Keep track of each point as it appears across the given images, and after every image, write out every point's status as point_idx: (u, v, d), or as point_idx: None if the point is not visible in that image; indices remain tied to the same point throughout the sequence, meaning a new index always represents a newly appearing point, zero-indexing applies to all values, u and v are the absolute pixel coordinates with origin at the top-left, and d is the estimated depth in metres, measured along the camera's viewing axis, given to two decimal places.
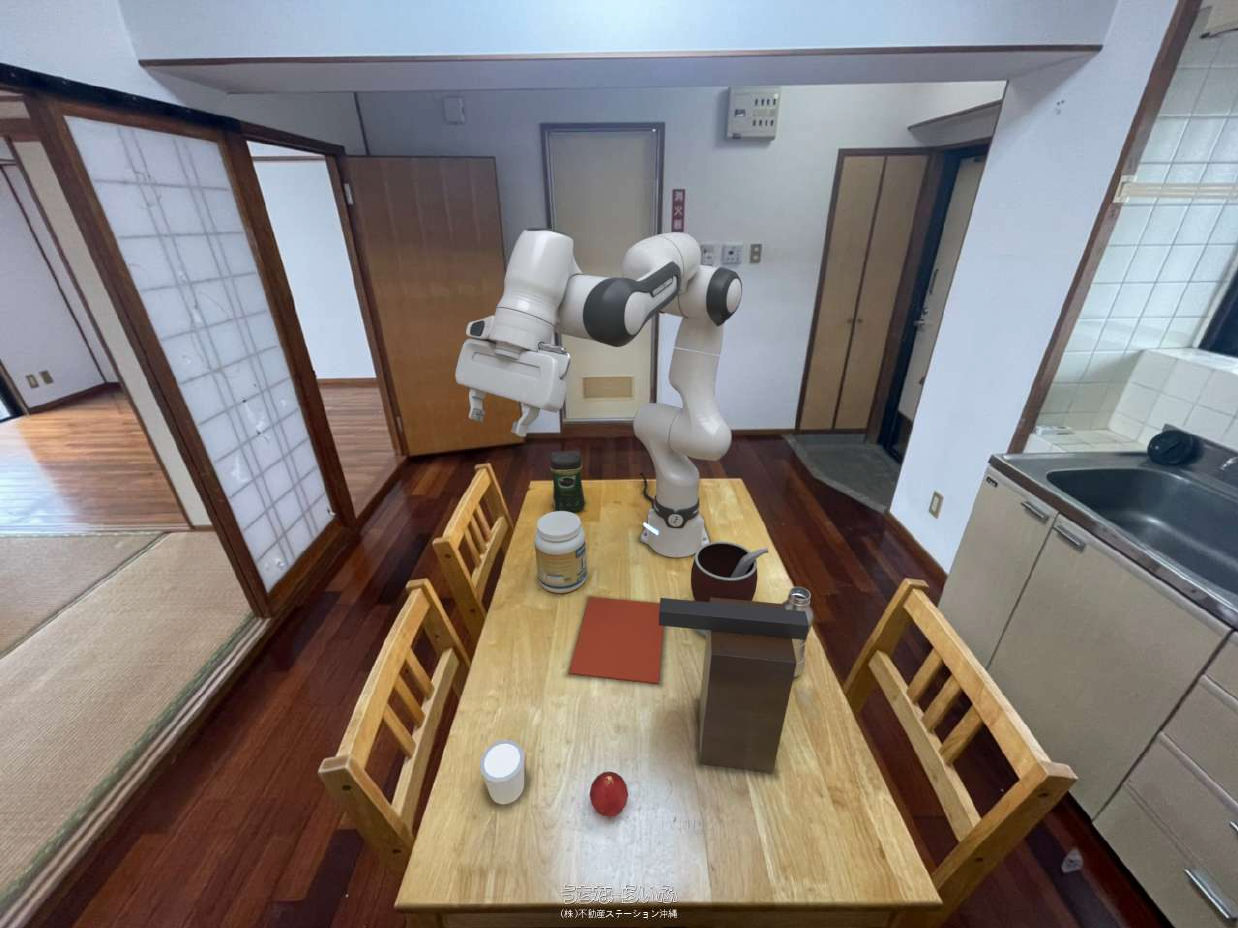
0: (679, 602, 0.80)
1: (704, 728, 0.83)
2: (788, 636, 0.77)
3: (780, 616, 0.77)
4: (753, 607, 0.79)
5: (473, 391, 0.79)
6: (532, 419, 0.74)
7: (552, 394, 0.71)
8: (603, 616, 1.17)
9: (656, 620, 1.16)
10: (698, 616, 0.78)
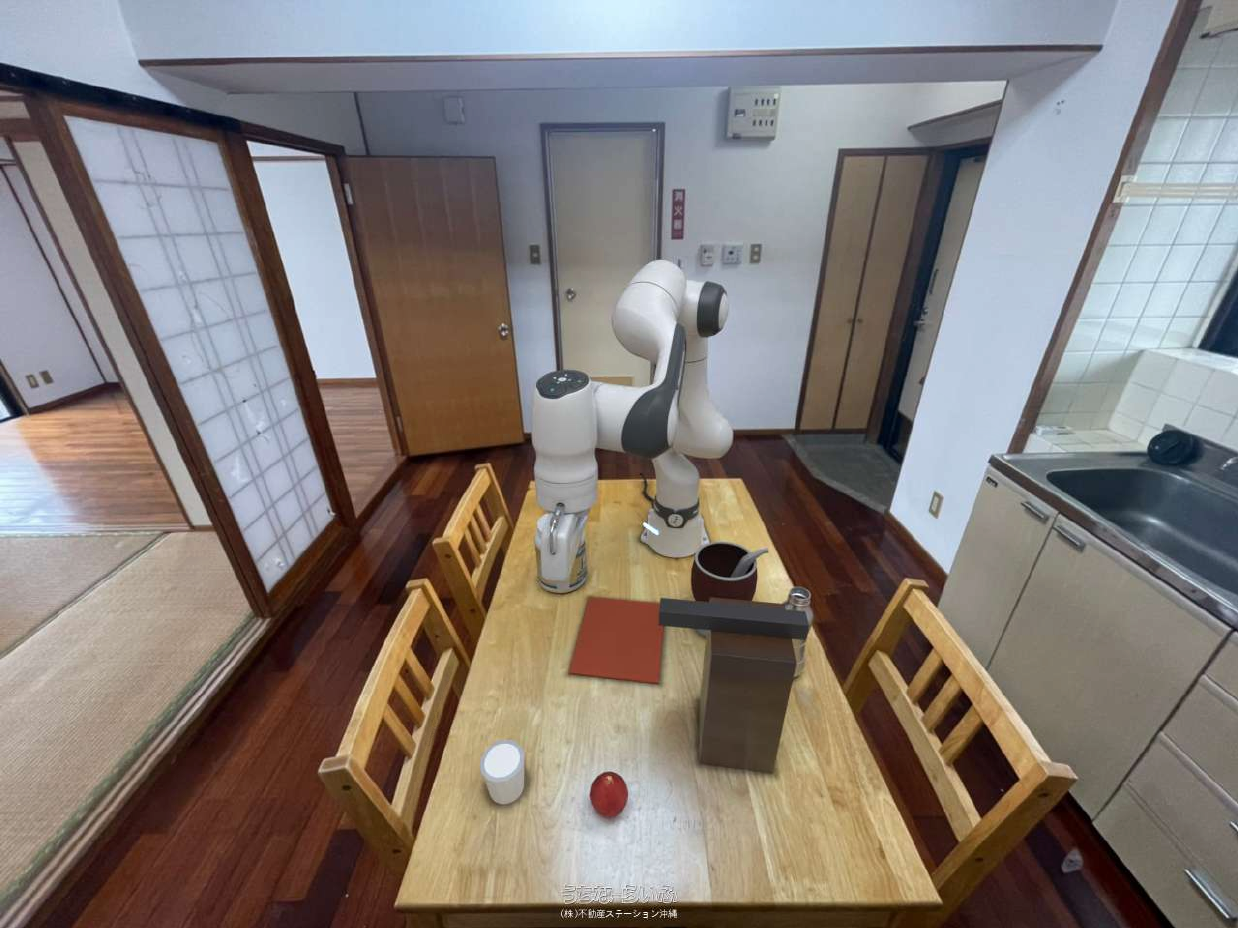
0: (679, 602, 0.80)
1: (704, 728, 0.83)
2: (788, 636, 0.77)
3: (780, 616, 0.77)
4: (753, 607, 0.79)
5: None
6: None
7: (544, 569, 0.67)
8: (603, 616, 1.17)
9: (656, 620, 1.16)
10: (698, 616, 0.78)
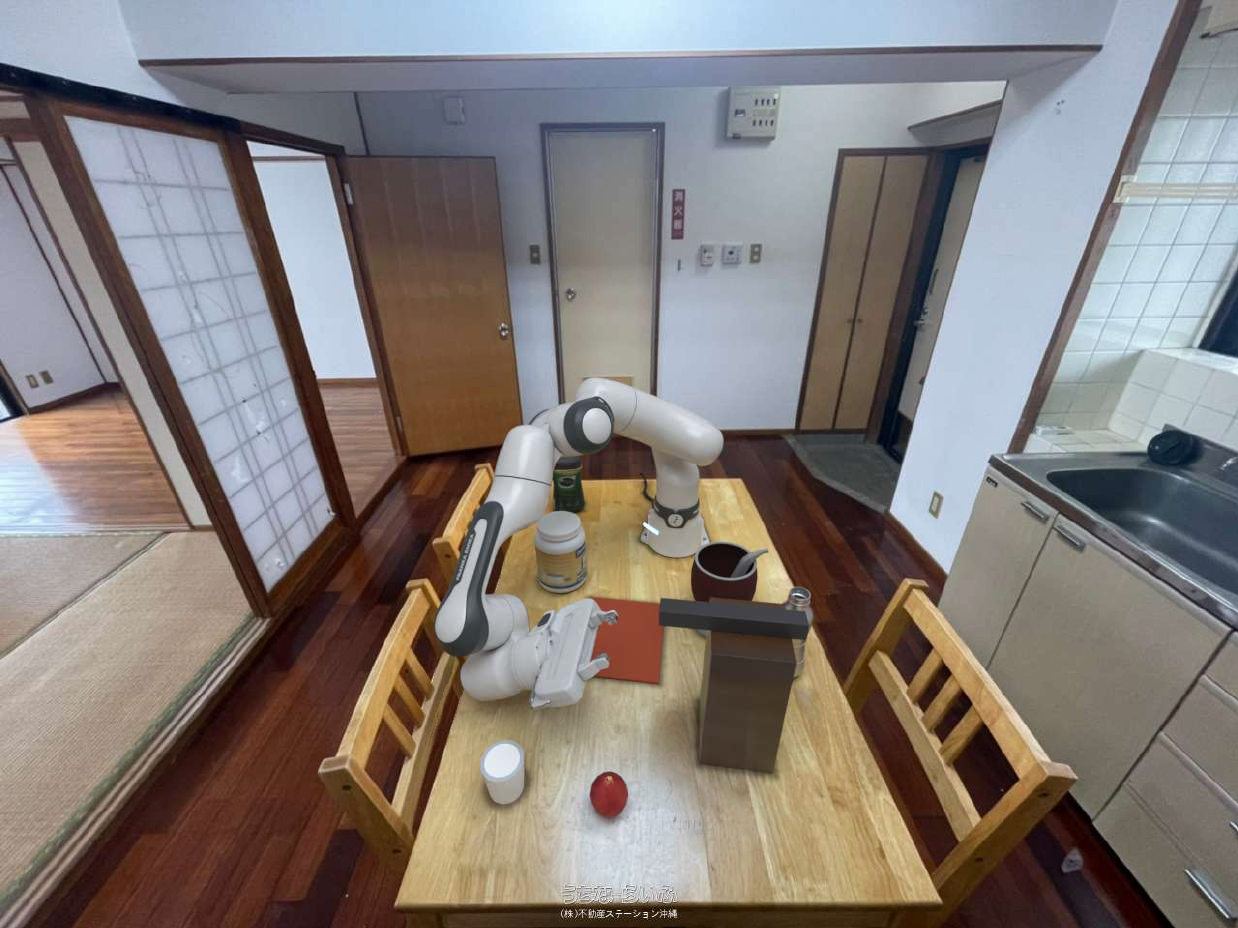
0: (679, 602, 0.80)
1: (704, 728, 0.83)
2: (788, 636, 0.77)
3: (780, 616, 0.77)
4: (753, 607, 0.79)
5: None
6: (589, 668, 0.80)
7: (567, 703, 0.78)
8: None
9: (656, 620, 1.16)
10: (698, 616, 0.78)
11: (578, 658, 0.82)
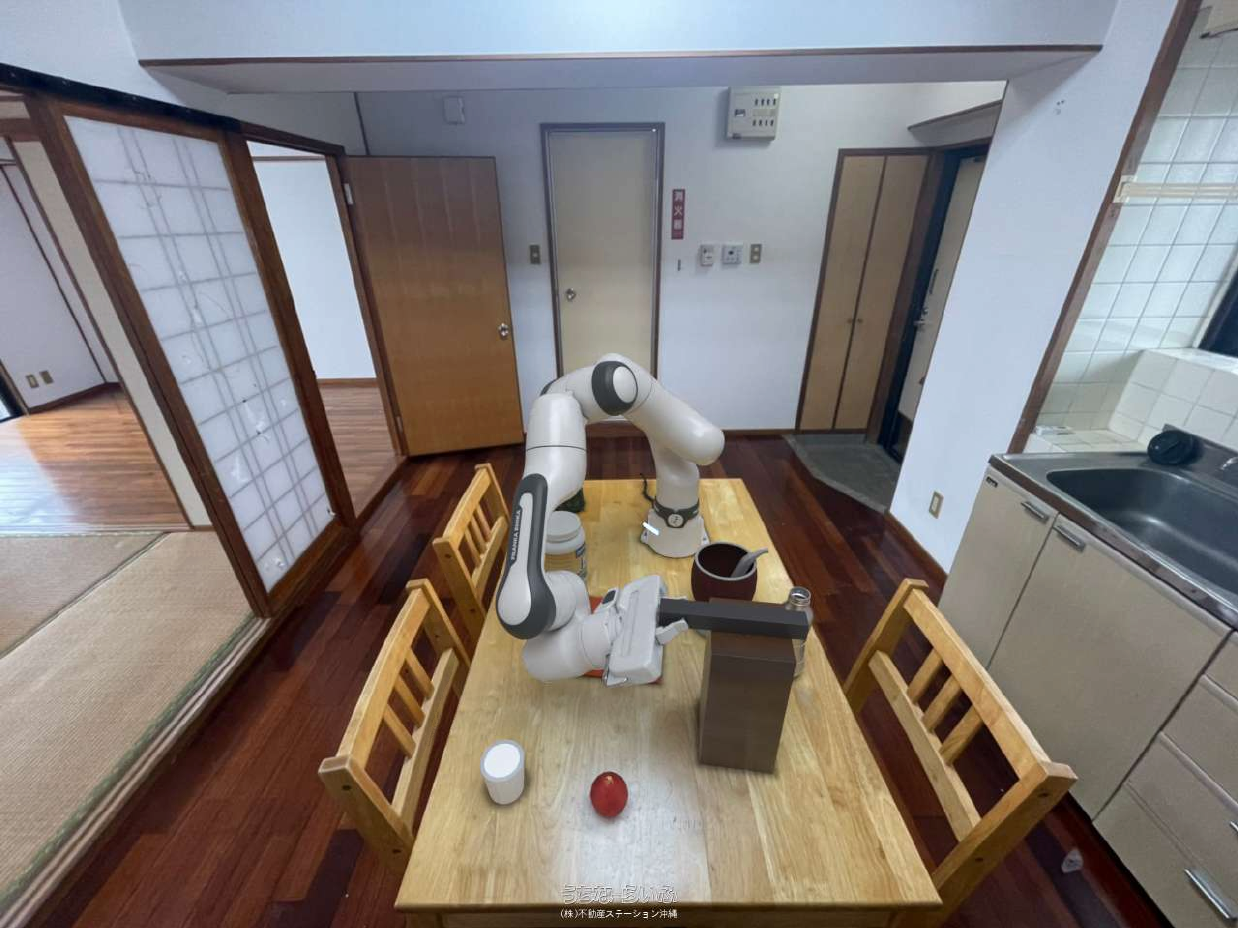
0: (680, 602, 0.80)
1: (704, 728, 0.83)
2: (788, 636, 0.77)
3: (780, 616, 0.77)
4: (753, 607, 0.79)
5: None
6: (668, 631, 0.77)
7: (645, 681, 0.74)
8: None
9: None
10: (698, 616, 0.78)
11: (653, 634, 0.77)
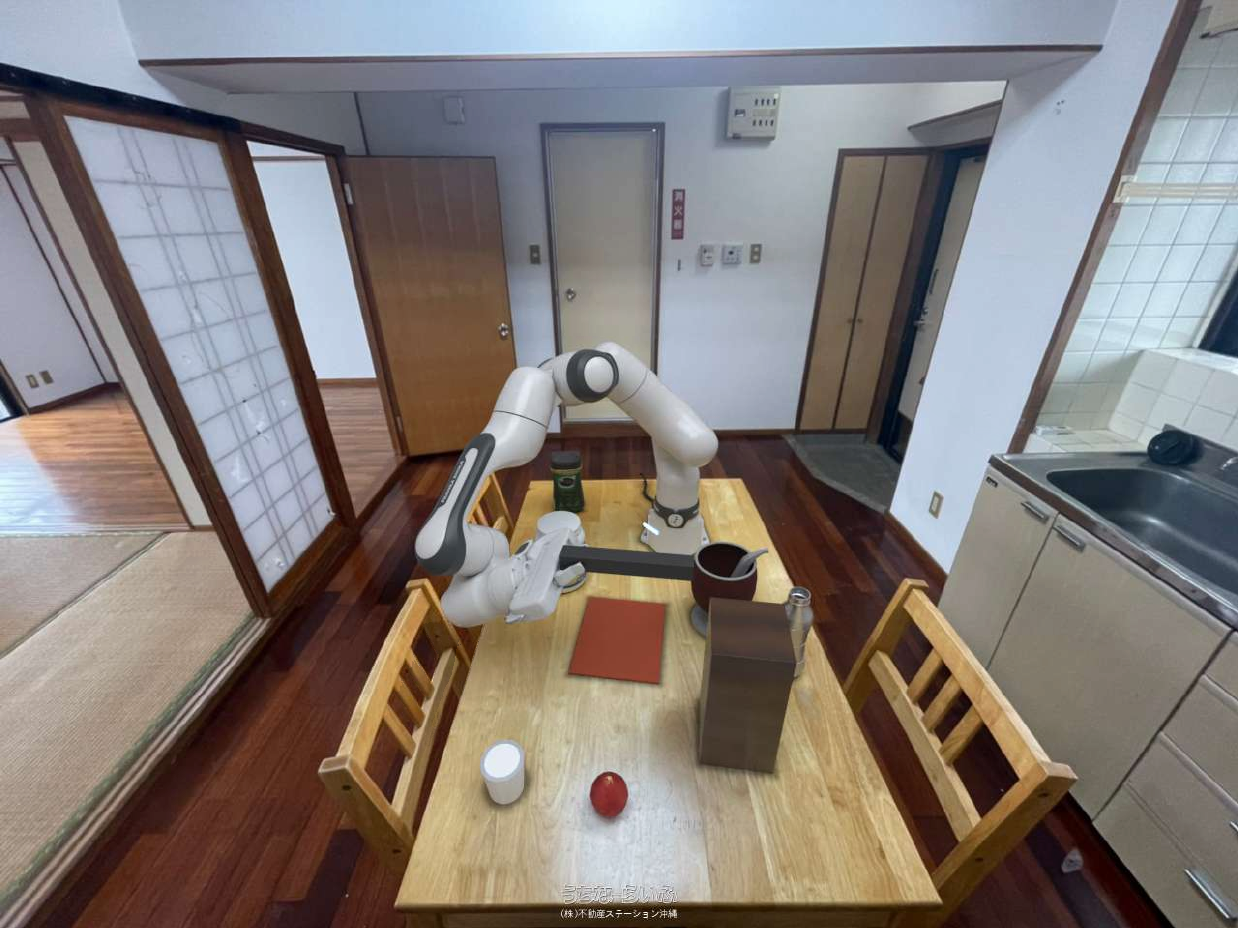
0: (579, 549, 0.86)
1: (704, 728, 0.83)
2: (676, 578, 0.83)
3: (669, 559, 0.83)
4: (646, 552, 0.85)
5: None
6: (566, 574, 0.83)
7: (540, 617, 0.80)
8: (603, 616, 1.17)
9: (656, 620, 1.16)
10: (594, 559, 0.84)
11: (552, 576, 0.83)
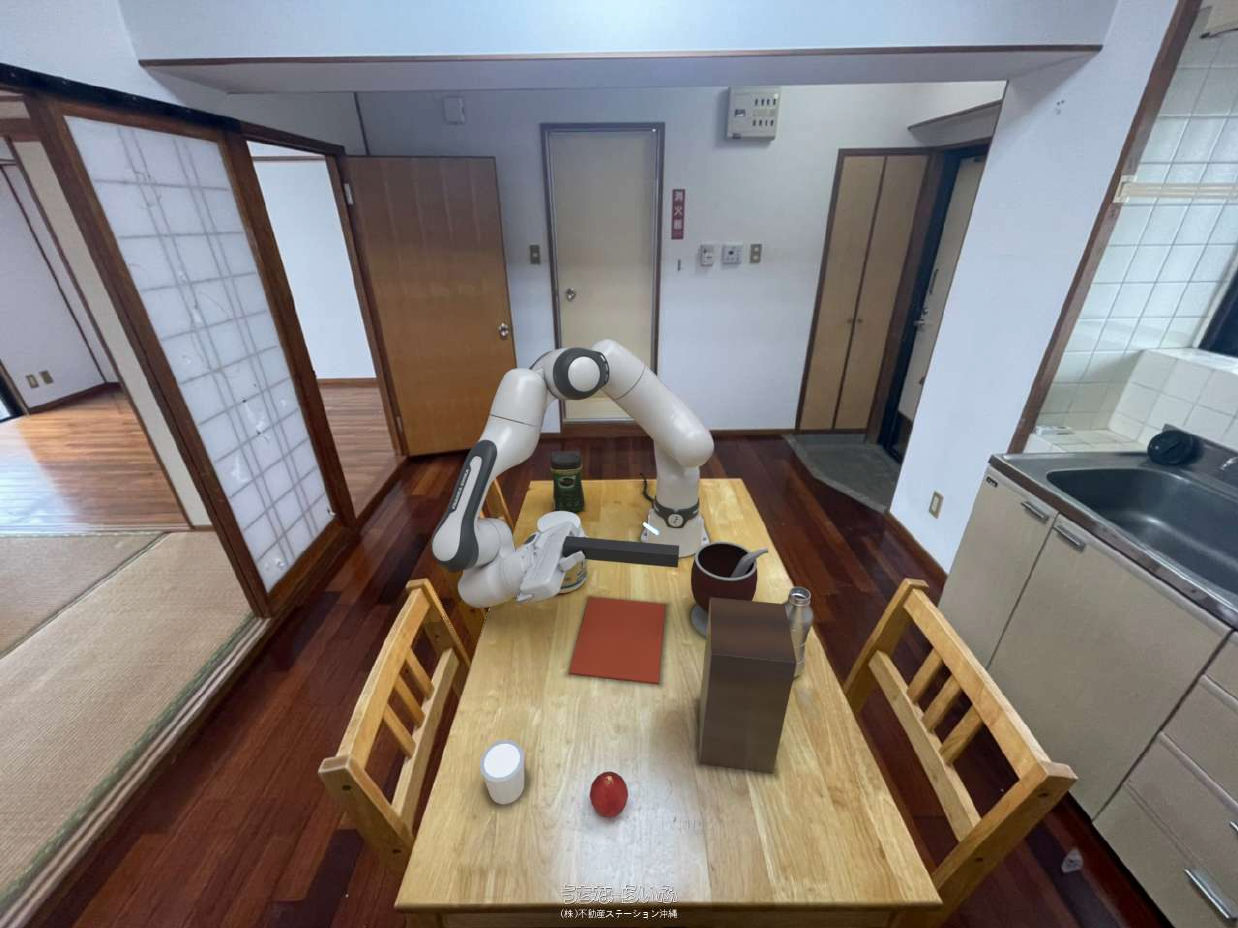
0: (580, 539, 0.99)
1: (704, 728, 0.83)
2: (663, 565, 0.97)
3: (658, 549, 0.97)
4: (638, 542, 0.99)
5: None
6: (569, 560, 0.97)
7: (546, 597, 0.93)
8: (603, 616, 1.17)
9: (656, 620, 1.16)
10: (593, 548, 0.97)
11: (556, 562, 0.97)
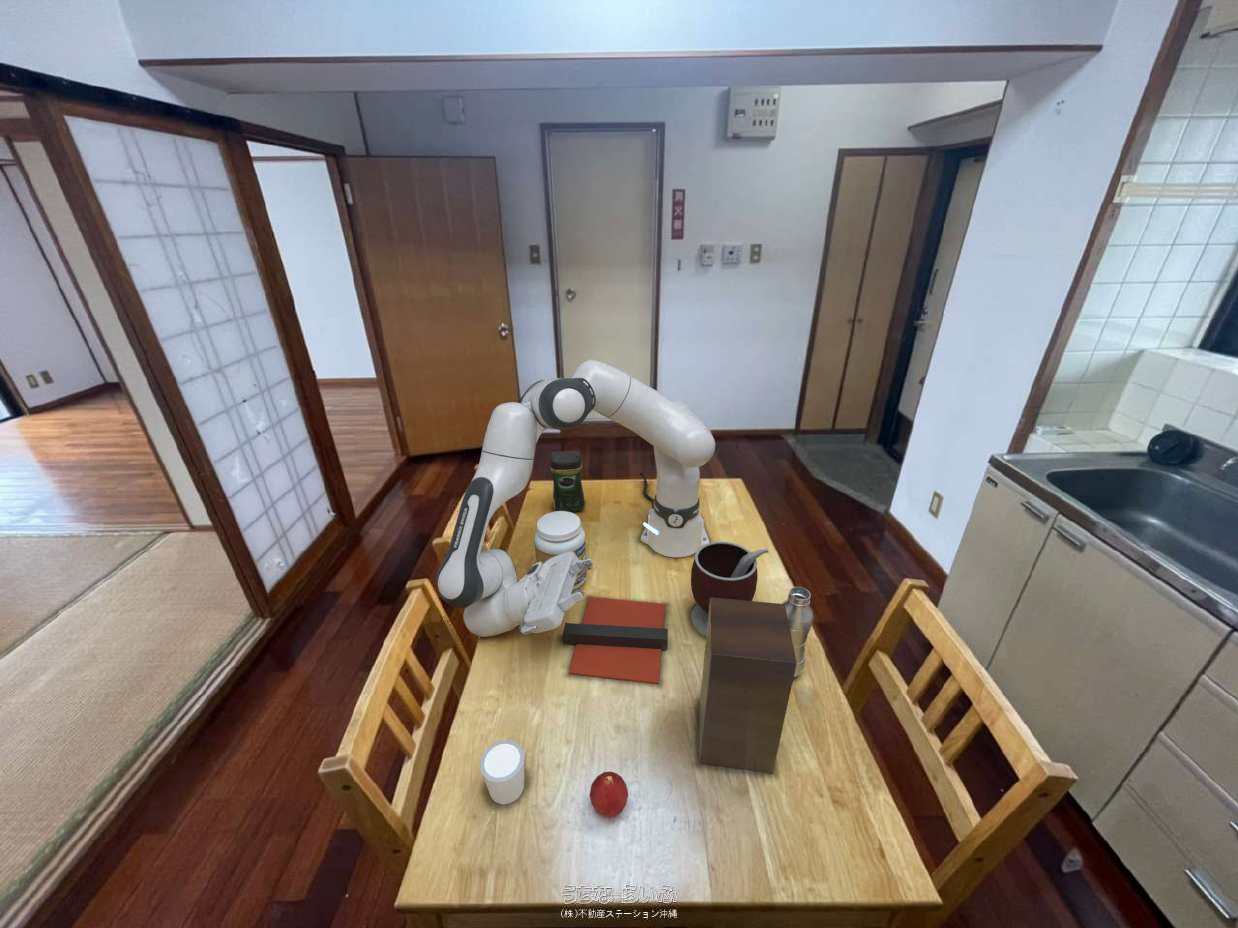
0: (578, 626, 1.10)
1: (704, 728, 0.83)
2: (654, 647, 1.08)
3: (649, 633, 1.08)
4: (631, 627, 1.10)
5: None
6: (567, 601, 0.99)
7: (549, 628, 0.97)
8: (603, 616, 1.17)
9: (656, 620, 1.16)
10: (591, 635, 1.08)
11: (559, 594, 1.01)
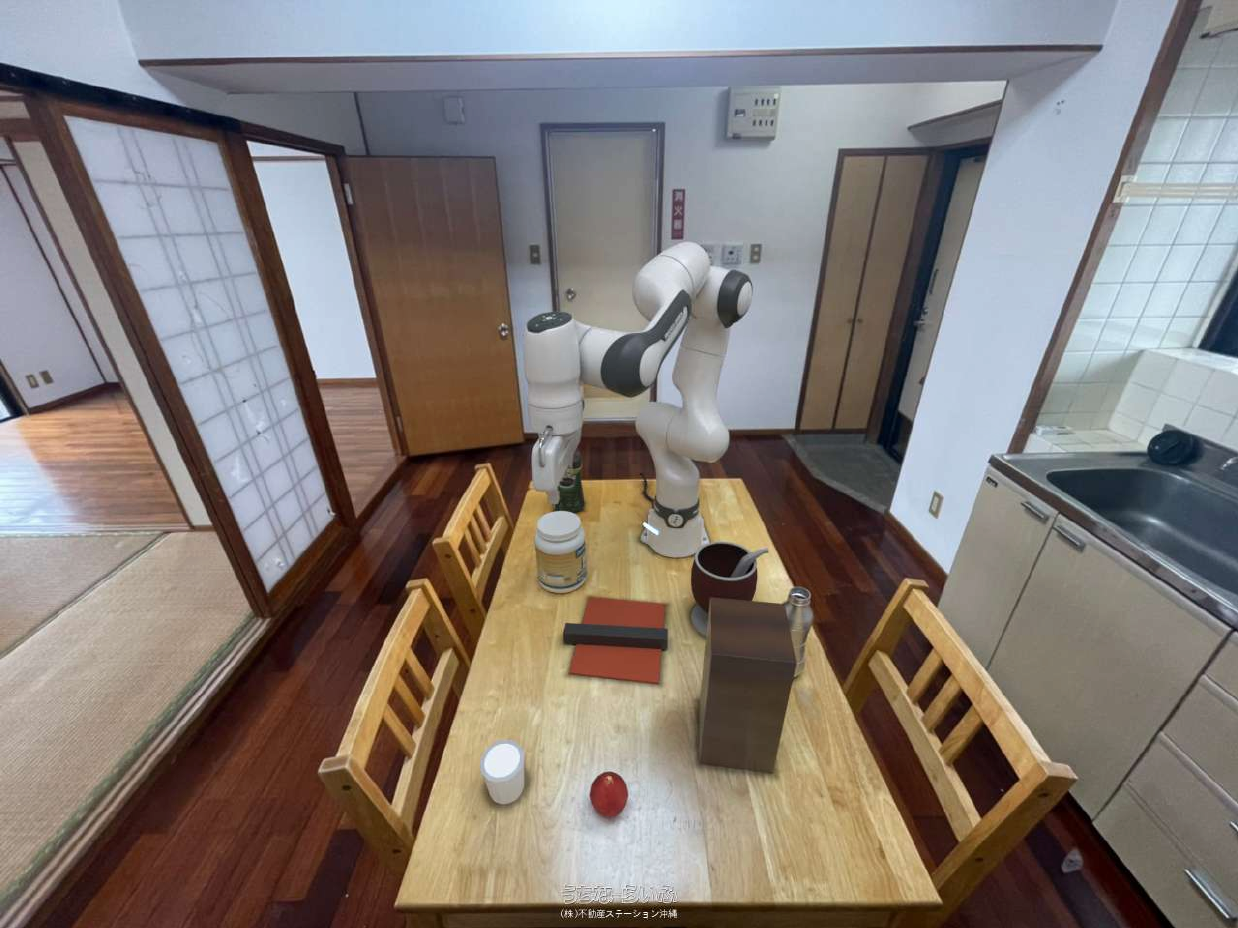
0: (578, 626, 1.10)
1: (704, 728, 0.83)
2: (654, 647, 1.08)
3: (649, 633, 1.08)
4: (631, 627, 1.10)
5: None
6: (554, 492, 0.85)
7: (535, 480, 0.80)
8: (603, 616, 1.17)
9: (656, 620, 1.16)
10: (591, 635, 1.08)
11: None
